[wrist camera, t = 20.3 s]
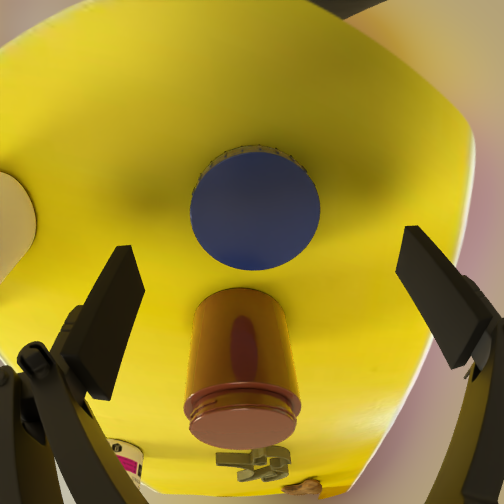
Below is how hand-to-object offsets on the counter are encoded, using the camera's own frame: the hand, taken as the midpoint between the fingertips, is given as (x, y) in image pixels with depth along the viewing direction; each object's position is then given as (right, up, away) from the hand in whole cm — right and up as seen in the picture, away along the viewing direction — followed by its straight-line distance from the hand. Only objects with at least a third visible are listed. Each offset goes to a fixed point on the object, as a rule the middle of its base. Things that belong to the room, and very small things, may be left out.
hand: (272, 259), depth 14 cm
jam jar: (-2, -6, +12) cm, 14 cm away
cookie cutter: (0, -37, +32) cm, 49 cm away
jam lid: (-1, +3, +5) cm, 6 cm away
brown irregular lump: (+11, -55, +43) cm, 71 cm away
